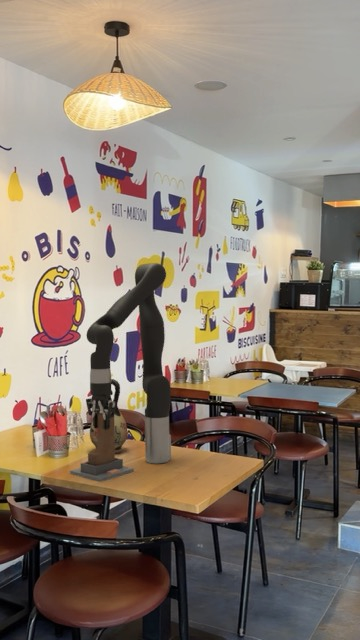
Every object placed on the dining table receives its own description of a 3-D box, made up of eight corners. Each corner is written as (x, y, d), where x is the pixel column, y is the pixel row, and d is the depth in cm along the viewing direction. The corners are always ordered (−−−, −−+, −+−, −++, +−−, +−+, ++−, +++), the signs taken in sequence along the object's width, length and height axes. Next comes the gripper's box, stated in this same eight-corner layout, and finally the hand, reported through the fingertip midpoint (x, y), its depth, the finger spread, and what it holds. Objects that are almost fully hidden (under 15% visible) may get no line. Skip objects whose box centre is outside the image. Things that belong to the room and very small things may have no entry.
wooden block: (95, 467, 216) (94, 416, 216) (87, 465, 219) (86, 415, 219) (115, 462, 223) (114, 413, 222) (107, 460, 226) (106, 411, 225)
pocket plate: (103, 464, 232) (103, 453, 232) (133, 471, 222) (133, 460, 222) (70, 473, 220) (69, 462, 220) (100, 481, 210) (100, 469, 210)
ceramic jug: (81, 453, 249) (80, 379, 248) (105, 445, 263) (104, 375, 262) (115, 458, 240) (114, 381, 240) (138, 450, 254) (137, 377, 253)
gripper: (122, 381, 218) (122, 429, 219) (95, 378, 228) (95, 424, 228) (106, 383, 213) (107, 433, 213) (79, 380, 222) (80, 427, 222)
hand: (101, 428), depth 221 cm, fingers closed on wooden block, 4 cm apart
